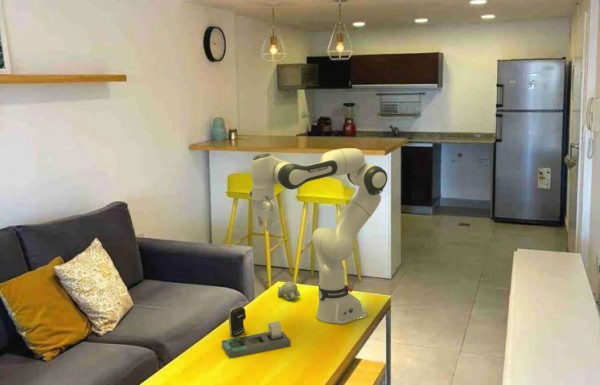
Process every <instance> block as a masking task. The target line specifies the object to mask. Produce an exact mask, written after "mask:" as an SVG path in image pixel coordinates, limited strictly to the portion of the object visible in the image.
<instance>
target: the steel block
mask: <svg viewBox="0 0 600 385" xmlns="http://www.w3.org/2000/svg"><path fill="white" fill-rule="evenodd" d="M267 327H268V329H267V330H268V332H269V339H270V340H271V341H273V340H278V339H282V336H281V330H282V324H281V323H280V322H279V321H277V320H276V321H272V322H268V323H267Z"/></svg>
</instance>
